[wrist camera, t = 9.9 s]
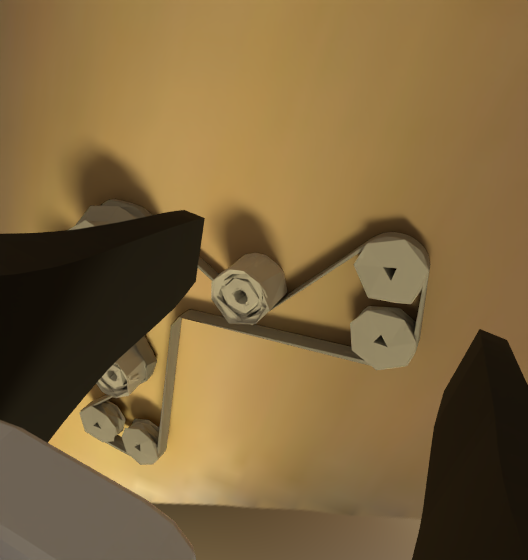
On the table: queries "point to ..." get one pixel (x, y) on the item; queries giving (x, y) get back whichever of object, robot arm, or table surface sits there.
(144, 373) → the pulley system
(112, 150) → the table surface
